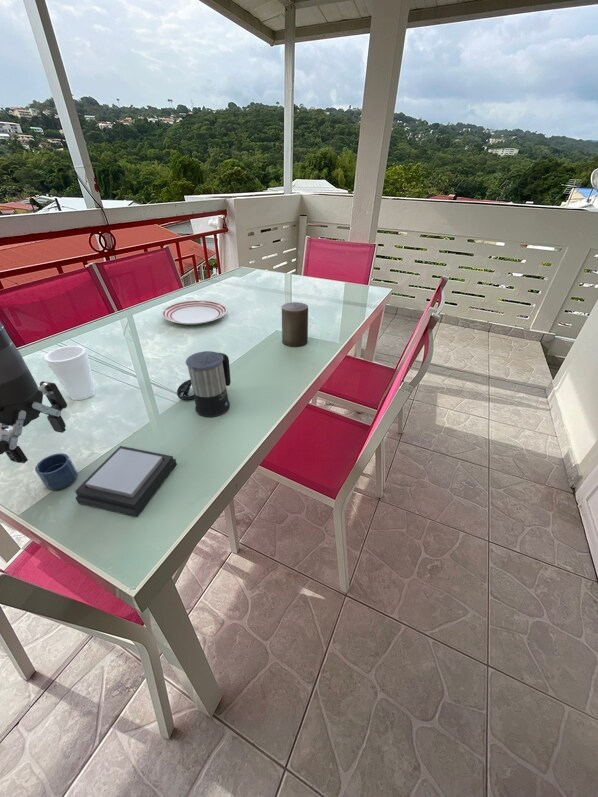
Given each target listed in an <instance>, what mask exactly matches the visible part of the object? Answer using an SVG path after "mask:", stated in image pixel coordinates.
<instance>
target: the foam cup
mask: <svg viewBox="0 0 598 797" xmlns="http://www.w3.org/2000/svg"><path fill="white" fill-rule="evenodd" d="M43 358H44V360H45V362H46V364H47V367H48V368H49V369H51V372H52V373H53V374H54V375H55V377H56V378H57V380H58V381H59V383H60V384H61V386H62V387H63V389H64V390H65V392H66V394H67V395H68V396H69V398H70V399H71V400H74V401H82V400H87V399H88V398H91V397H93V396H94V395H95V393H96V387H95V381H94V378H93V374H92V369H91V364H90V360H89V358H90V357H89V354H88V352H87V350H86V348H85V346H81V345H66V346H61V347H58V348H54V349H52V350H51V351H49V352H47V353H46V354H45V355H44V357H43Z"/></svg>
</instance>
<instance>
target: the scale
mask: <svg viewBox="0 0 598 797" xmlns="http://www.w3.org/2000/svg"><path fill="white" fill-rule="evenodd" d="M119 449H125V450H130V451H135V452H141V453H146V454H151V455H156V456H161V457H162V459H163V462H162V463H161V464H160V465H159V467H158V468H157V469H156V470H155V472H154V473H153V474H152V475H151V477H150V478H149V479H148V480H147V482H146V483H145V484H144V485H143V486H142V488H141V489H140V490H139V491H138V493H137V494H136V495H135V496H134V498H129V497H124V496H120V495H115V494H111V493H107V492H102V491H98V490H94V489H89V488H88V487H87V486H86V483H87V482H88V481H89V480H90V479H91V478H92V477H93V476H94V475H95V474H96V473H97V472H98V471H99V470H100V469H101V468H102V467H103V466H104V465H105V464H106V463H107V462H108V461H109V460H110V459H111V458H112V457H113V455H114V454H115V453H116V452H117V451H118V450H119ZM177 465H178V463H177V458H174V456H173V455H169V454H164V453H160V452H155V451H154V452H153V451H148V450H143V449H139V448H133V447H128V446H123V445H119V446H118V448H117V449H115V450H114V452H113V453H112V454H110V455H109V456H108V457H107V458H106V459H105V460H104V461H103V463H101V464H100V465H99V466H98V467H97V468H96V469H95V470H94V471H93V472H92V473H91V474H90V475H89V476H88V477H87V478H86V480H84V481H83V482H82V484H80V485H79V486H78V487H77V488H76V489H75V490H74V492H75V494H76V497H75V500H76V502H77V504H80V505H83V506H88V507H93V508H96V509H101V510H105V511H109V512H114V513H117V514H121V515H126V516H129V517H135V518H138V517H139V515H140V514H141V513H142V511H143V510H144V509H145V507H146V506H147V504H149V502H150V501H151V499H152V498H153V497H154V495H155V494H156V493H157V492H158V490H159V489H160V487H161V486H162V485H163V483H164V482H165V481H166V479H167V478H168V477H169V475H171V473H172V471H173V470H174V469H175V468H176V466H177Z"/></svg>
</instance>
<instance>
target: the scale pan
mask: <svg viewBox="0 0 598 797" xmlns="http://www.w3.org/2000/svg"><path fill="white" fill-rule="evenodd" d="M162 462H163V459H162V457H161V456H156V455H151V454H146V453H141V452H135V451H130V450H125V449H119V450H118V451H117V452H116V453H115V454H114V455H113V457H112V458H111V459H110V460H109V461H108V462H107V463H106V464H105V465H104V466H103V467H102V468H101V469H100V470H99V471H98V472H97V473H96V474H95V475H94V476H93V477H92V478H91V479H90V480H89V481H88V482H87V483H86V486H87V487H88V488H89V489H94V490H98V491H102V492H107V493H111V494H115V495H120V496H124V497H129V498H134V496H135V495H136V494H137V493H138V491H139V490H140V489H141V488H142V486H143V485H144V484H145V483H146V482H147V480H148V479H149V478H150V477H151V475H152V474H153V473H154V472H155V470H156V469H157V468H158V467H159V465H160V464H161V463H162Z"/></svg>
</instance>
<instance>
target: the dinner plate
mask: <svg viewBox="0 0 598 797" xmlns="http://www.w3.org/2000/svg"><path fill="white" fill-rule="evenodd" d="M227 313H228V308H227V307H226V305H224V304H223V303H220V302H217V301H213V300H205V299H204V300H203V299H193V300H192V299H191V300H183V301H178V302H175V303H173V304H170V305H167V306H166V307H164V308H163V309H162V311H161V316H162V318H163V319H164V320H166V321H169V322H172V323H174V324H180V325H187V326H196V325H204V324H207V323H210V322H214V321H216V320H219V319H220V318H223V317H224V316H226V314H227Z"/></svg>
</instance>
